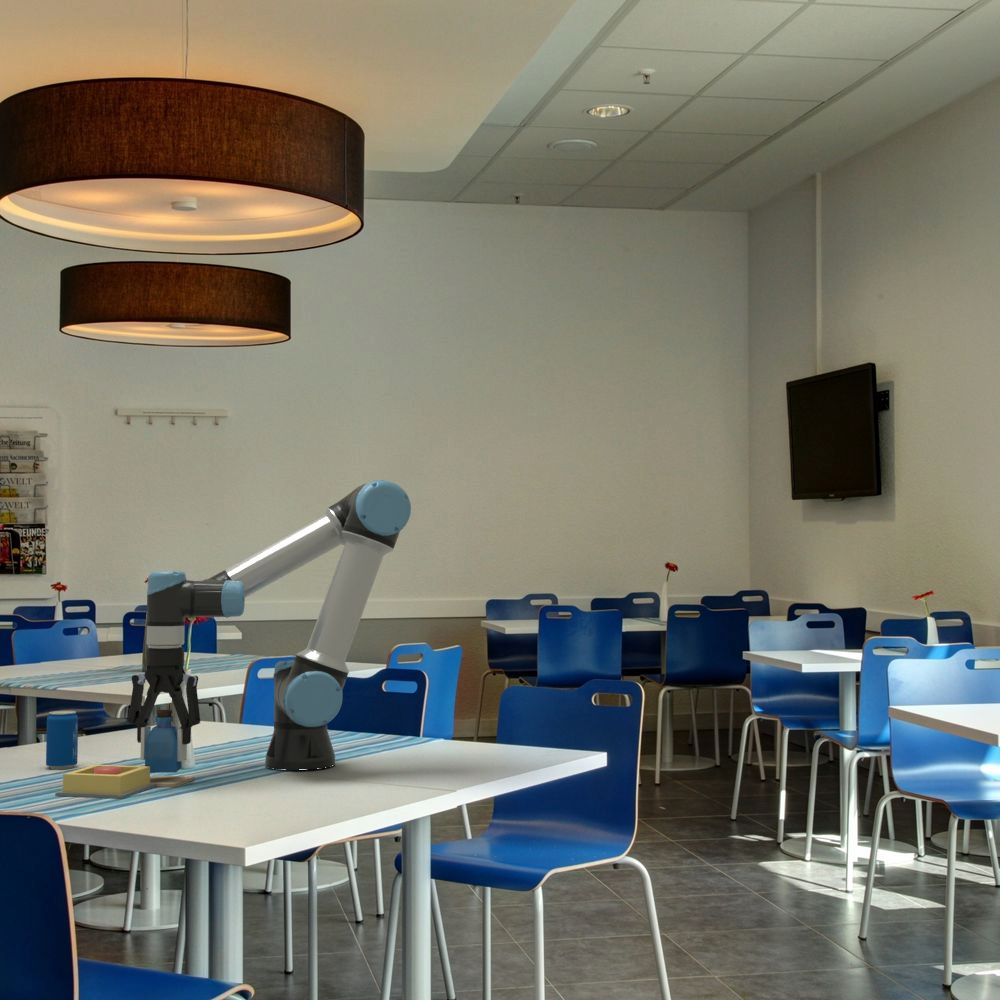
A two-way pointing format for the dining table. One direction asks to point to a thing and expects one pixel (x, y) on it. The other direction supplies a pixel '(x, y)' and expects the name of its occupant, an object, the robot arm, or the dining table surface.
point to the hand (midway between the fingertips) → (163, 759)
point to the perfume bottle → (162, 745)
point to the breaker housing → (106, 782)
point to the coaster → (169, 780)
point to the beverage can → (62, 740)
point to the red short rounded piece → (108, 770)
